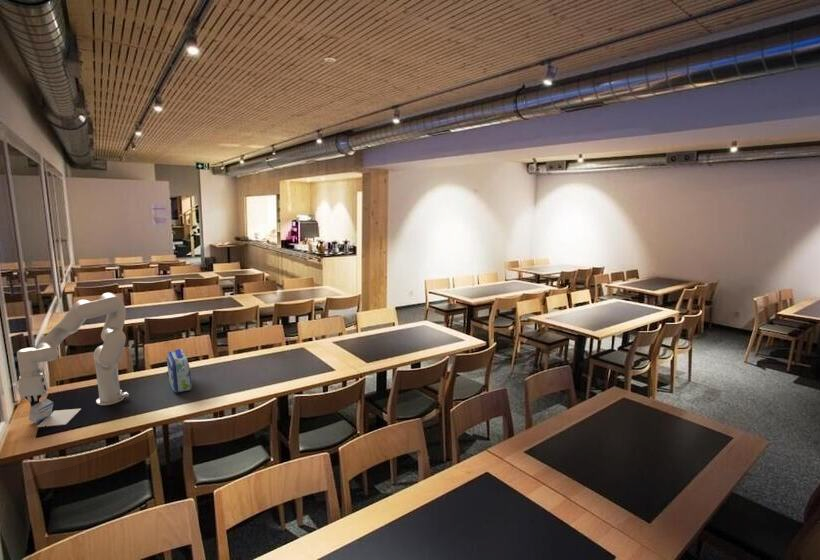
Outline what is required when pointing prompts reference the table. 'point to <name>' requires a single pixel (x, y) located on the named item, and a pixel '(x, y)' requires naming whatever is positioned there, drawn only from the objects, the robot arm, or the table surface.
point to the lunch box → (178, 371)
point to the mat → (59, 417)
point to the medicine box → (40, 411)
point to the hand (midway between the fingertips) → (35, 407)
